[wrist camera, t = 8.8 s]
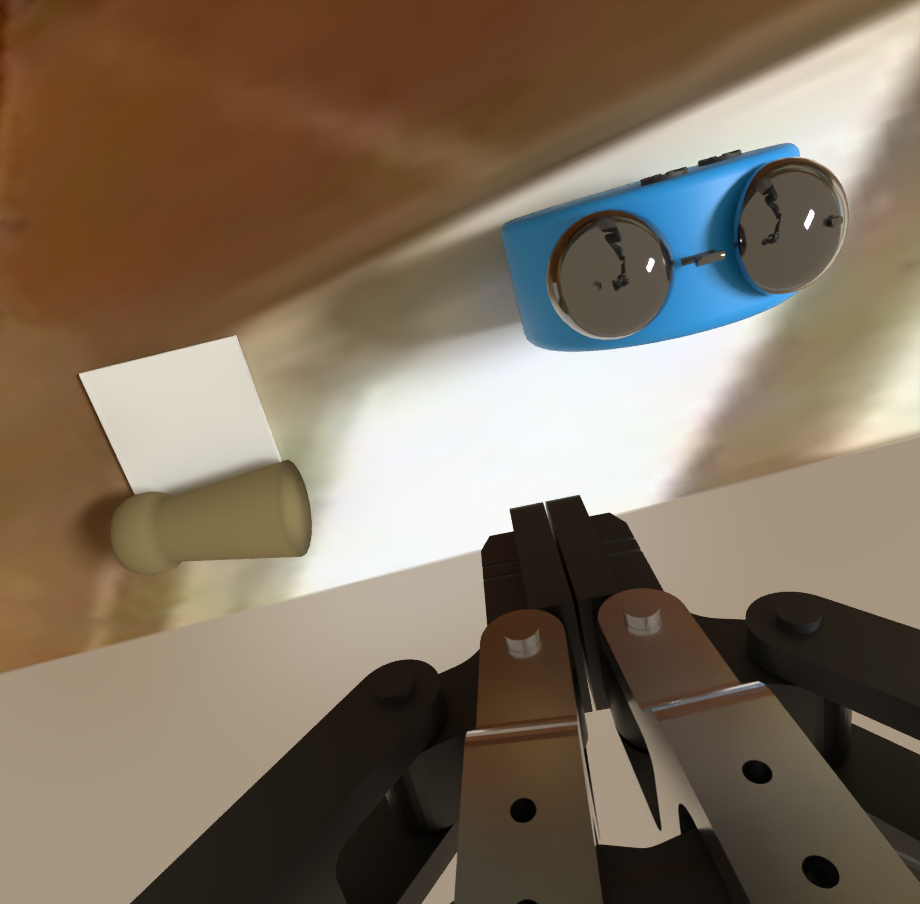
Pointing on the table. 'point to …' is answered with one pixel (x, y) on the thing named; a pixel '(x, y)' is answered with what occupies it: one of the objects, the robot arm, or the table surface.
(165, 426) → the mat
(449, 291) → the table surface
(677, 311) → the alarm clock
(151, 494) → the cork
